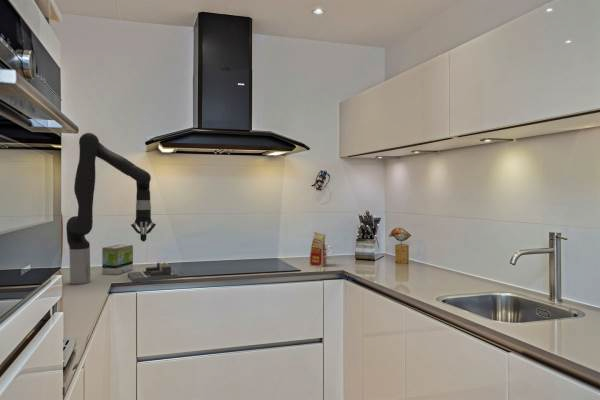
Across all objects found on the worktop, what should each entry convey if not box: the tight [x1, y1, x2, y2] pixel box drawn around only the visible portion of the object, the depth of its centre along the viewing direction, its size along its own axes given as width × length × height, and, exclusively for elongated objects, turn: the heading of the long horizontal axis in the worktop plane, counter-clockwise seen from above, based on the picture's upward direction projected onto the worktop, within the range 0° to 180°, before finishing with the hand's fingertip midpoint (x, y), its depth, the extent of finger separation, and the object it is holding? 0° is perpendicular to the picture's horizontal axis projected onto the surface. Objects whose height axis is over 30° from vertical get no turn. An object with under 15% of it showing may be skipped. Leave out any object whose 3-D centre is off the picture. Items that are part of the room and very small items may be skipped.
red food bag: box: [308, 231, 327, 268], centre depth 269 cm, size 9×9×20 cm
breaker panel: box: [127, 262, 178, 283], centre depth 239 cm, size 22×18×6 cm
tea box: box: [101, 244, 134, 275], centre depth 254 cm, size 15×10×15 cm
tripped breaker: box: [158, 262, 169, 271], centre depth 242 cm, size 4×3×5 cm
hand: (143, 241), depth 241 cm, fingers closed
